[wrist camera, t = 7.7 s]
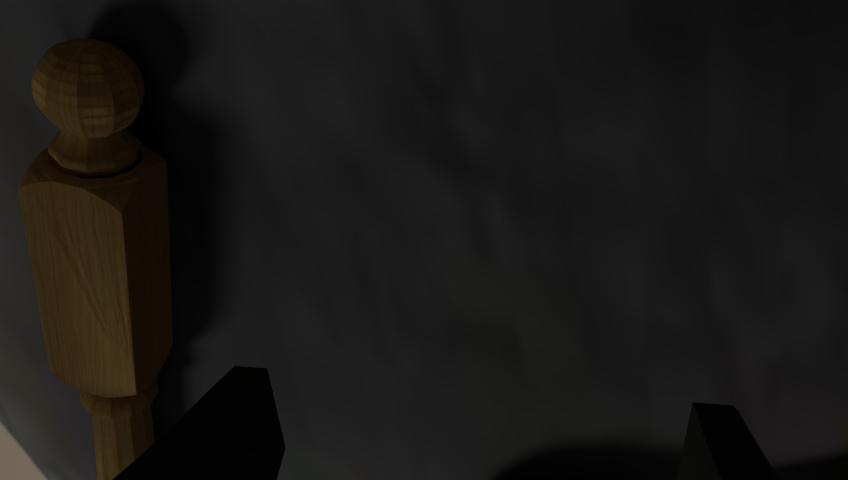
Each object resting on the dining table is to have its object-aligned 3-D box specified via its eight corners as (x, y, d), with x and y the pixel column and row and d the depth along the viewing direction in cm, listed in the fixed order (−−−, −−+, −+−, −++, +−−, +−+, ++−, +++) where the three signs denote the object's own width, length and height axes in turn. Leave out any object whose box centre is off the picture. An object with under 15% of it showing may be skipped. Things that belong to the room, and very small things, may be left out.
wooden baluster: (97, 637, 35) (-6, 50, 18) (128, 578, 38) (63, 14, 21) (157, 653, 35) (111, 78, 18) (184, 593, 38) (166, 38, 21)
